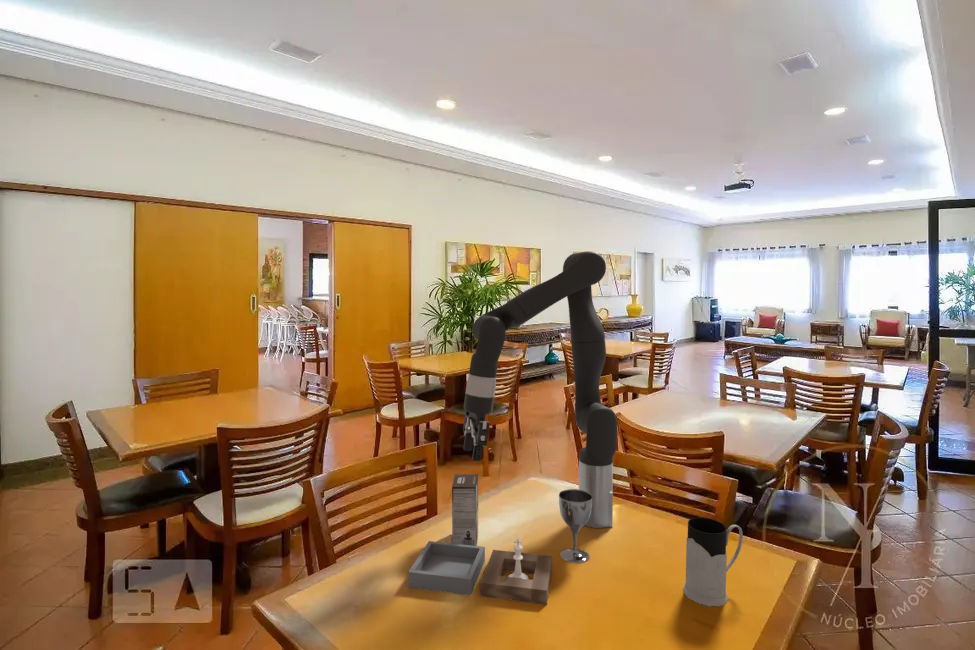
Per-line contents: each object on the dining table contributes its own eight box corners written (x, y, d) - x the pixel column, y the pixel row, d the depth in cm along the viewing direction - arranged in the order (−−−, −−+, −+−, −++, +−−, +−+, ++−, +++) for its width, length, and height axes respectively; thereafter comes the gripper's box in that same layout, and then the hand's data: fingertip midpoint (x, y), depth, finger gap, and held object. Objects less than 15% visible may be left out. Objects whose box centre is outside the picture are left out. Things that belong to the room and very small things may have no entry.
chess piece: (527, 589, 109) (527, 544, 108) (505, 586, 110) (505, 542, 109) (530, 576, 114) (530, 533, 113) (508, 574, 114) (508, 531, 114)
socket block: (552, 568, 117) (552, 555, 117) (546, 604, 103) (546, 590, 103) (493, 561, 120) (493, 549, 120) (480, 596, 106) (480, 582, 106)
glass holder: (674, 586, 110) (675, 519, 109) (724, 574, 115) (726, 509, 114) (704, 610, 101) (706, 538, 100) (757, 595, 106) (759, 526, 105)
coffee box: (454, 531, 135) (454, 473, 134) (478, 532, 135) (478, 473, 134) (451, 549, 126) (451, 486, 125) (477, 549, 126) (477, 486, 125)
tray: (484, 561, 120) (484, 546, 120) (471, 595, 107) (471, 579, 106) (429, 554, 123) (428, 541, 123) (408, 587, 109) (408, 571, 109)
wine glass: (553, 558, 121) (554, 498, 120) (564, 544, 128) (565, 486, 127) (585, 567, 117) (586, 504, 117) (595, 551, 125) (596, 492, 124)
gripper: (503, 399, 123) (494, 464, 124) (485, 389, 137) (477, 448, 137) (473, 397, 121) (465, 463, 121) (459, 387, 135) (451, 446, 135)
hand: (471, 455), depth 129 cm, fingers open, 8 cm apart
